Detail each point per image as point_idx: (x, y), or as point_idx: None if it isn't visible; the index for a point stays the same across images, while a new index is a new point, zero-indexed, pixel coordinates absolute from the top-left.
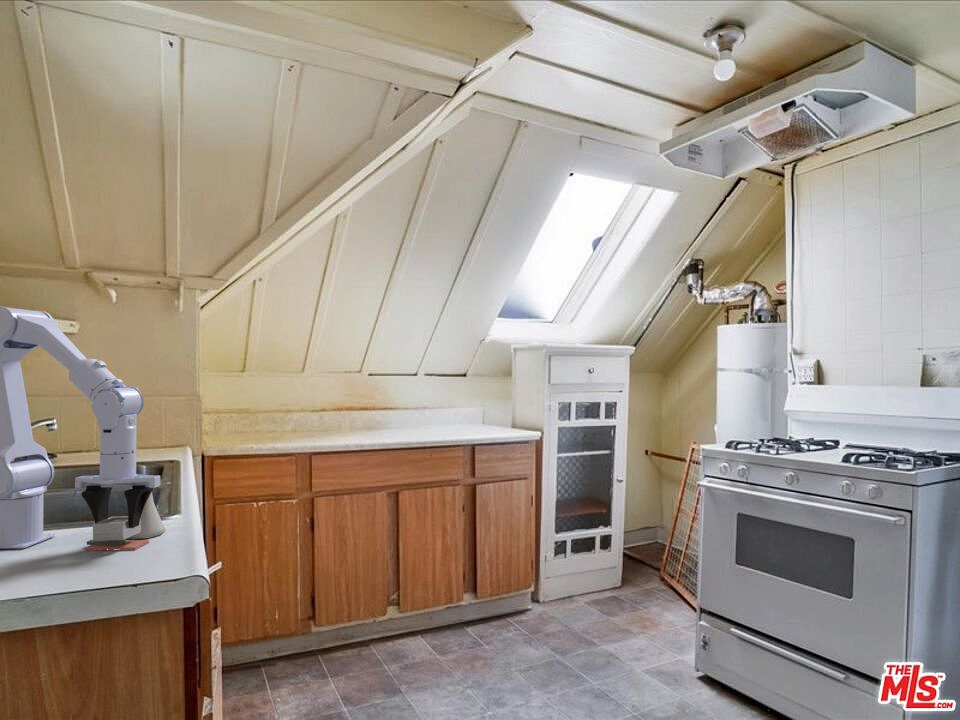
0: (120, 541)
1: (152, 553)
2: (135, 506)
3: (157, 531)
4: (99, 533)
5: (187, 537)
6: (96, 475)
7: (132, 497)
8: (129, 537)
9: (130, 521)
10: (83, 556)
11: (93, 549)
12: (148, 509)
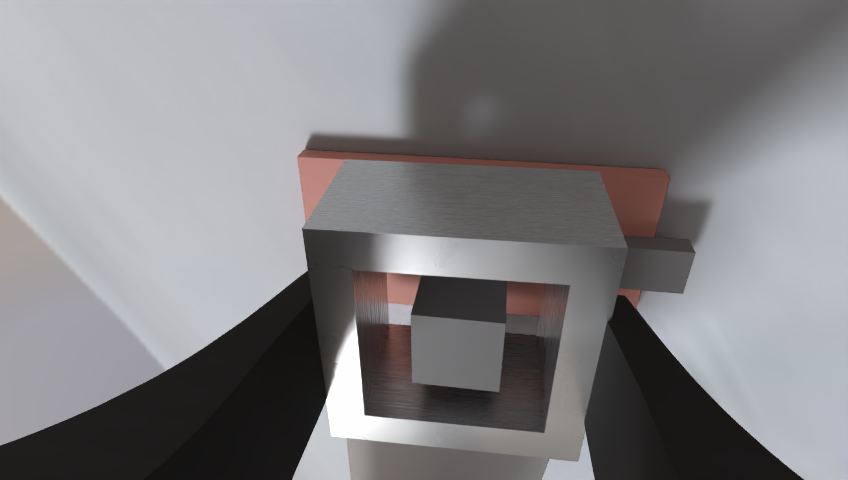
0: None
1: (140, 72)
2: (149, 383)
3: None
4: (546, 195)
5: (182, 355)
6: None
7: (47, 457)
8: None
9: (293, 294)
10: (604, 21)
11: (600, 168)
12: None
